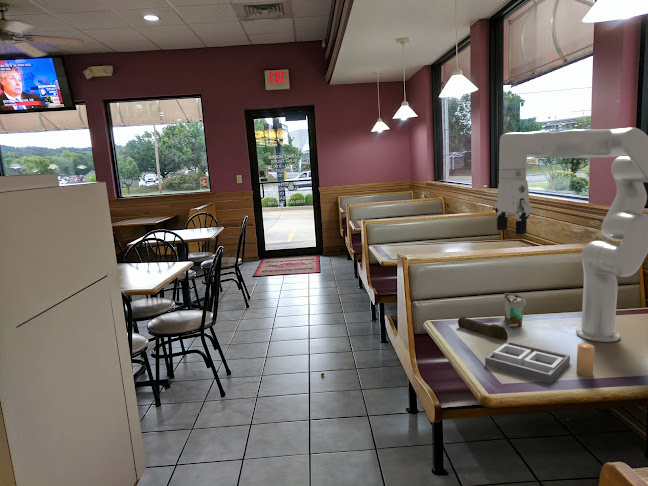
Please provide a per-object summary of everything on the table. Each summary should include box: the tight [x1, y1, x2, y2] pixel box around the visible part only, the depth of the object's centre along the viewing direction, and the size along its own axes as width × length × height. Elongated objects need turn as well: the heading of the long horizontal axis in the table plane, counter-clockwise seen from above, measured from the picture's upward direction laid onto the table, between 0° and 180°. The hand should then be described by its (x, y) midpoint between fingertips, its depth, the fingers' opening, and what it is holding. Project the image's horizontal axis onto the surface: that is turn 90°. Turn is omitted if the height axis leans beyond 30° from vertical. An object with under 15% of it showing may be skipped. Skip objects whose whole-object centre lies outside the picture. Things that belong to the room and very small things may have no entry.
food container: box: [504, 292, 527, 329], centre depth 168 cm, size 12×6×10 cm, turn 168°
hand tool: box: [457, 316, 509, 342], centre depth 161 cm, size 19×4×5 cm, turn 33°
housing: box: [484, 340, 571, 384], centre depth 136 cm, size 16×18×3 cm
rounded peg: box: [575, 342, 595, 378], centre depth 128 cm, size 4×4×8 cm
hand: (511, 231), depth 142 cm, fingers open, 9 cm apart
